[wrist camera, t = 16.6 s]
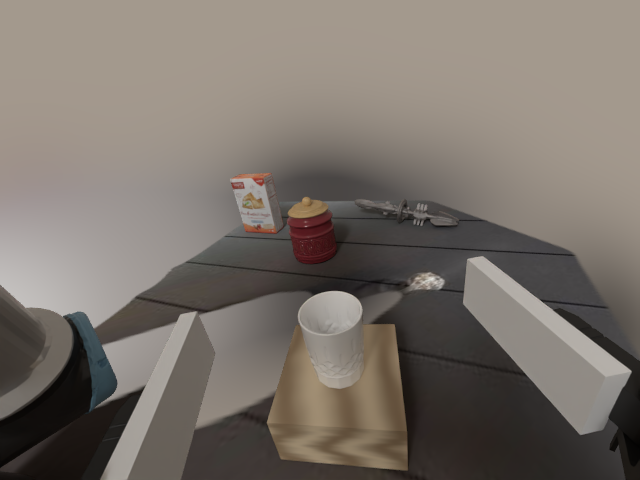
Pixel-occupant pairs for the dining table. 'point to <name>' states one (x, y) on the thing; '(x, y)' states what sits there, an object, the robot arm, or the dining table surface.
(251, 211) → the cracker box
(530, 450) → the dining table surface
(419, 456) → the dining table surface
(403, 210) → the spaceship
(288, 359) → the riser block
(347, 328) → the white cup
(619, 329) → the dining table surface
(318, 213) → the canister
